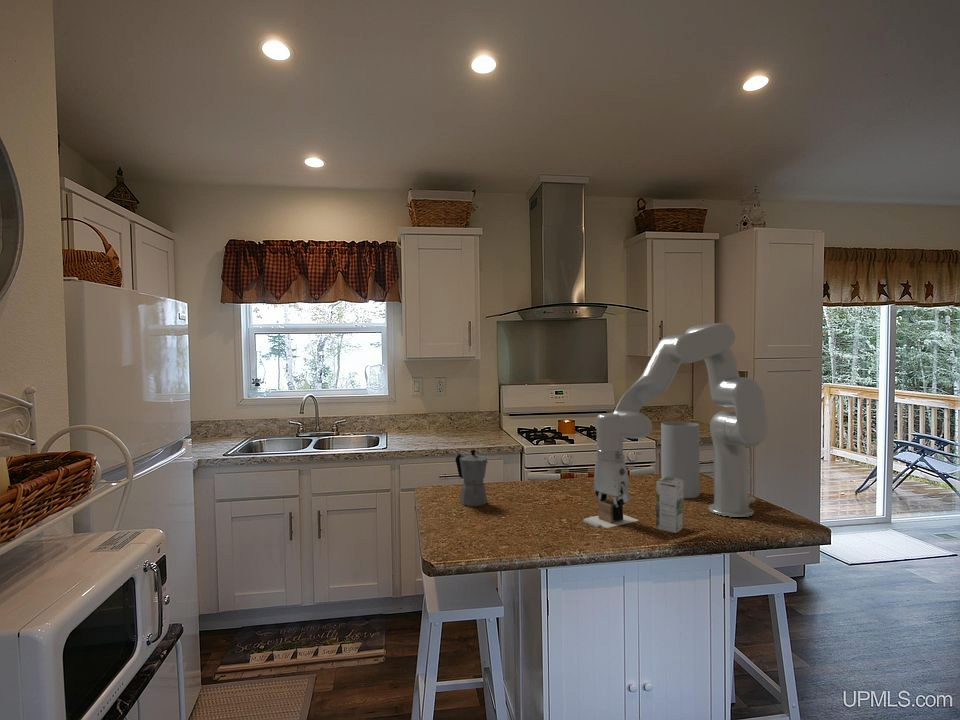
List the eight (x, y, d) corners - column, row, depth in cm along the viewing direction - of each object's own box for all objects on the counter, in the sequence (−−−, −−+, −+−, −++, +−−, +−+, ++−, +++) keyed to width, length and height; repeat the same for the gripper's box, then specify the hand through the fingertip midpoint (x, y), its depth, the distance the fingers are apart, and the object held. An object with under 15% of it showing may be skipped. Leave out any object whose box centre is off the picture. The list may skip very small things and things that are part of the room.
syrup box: (663, 526, 144) (662, 475, 144) (684, 530, 140) (683, 478, 140) (655, 531, 140) (655, 479, 140) (677, 536, 136) (677, 482, 136)
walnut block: (611, 515, 151) (610, 499, 151) (623, 520, 147) (623, 503, 147) (598, 518, 149) (598, 501, 149) (610, 523, 144) (610, 505, 144)
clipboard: (615, 512, 157) (615, 508, 157) (645, 523, 146) (645, 519, 146) (575, 521, 149) (575, 516, 149) (604, 533, 139) (604, 528, 139)
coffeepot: (497, 503, 168) (496, 450, 168) (476, 509, 162) (476, 453, 162) (466, 495, 179) (466, 444, 179) (446, 500, 173) (445, 448, 173)
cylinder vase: (655, 494, 178) (654, 424, 178) (672, 488, 186) (671, 420, 186) (689, 501, 169) (688, 427, 169) (706, 494, 177) (705, 423, 177)
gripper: (641, 459, 142) (642, 523, 142) (599, 449, 157) (600, 507, 157) (621, 462, 139) (622, 527, 139) (580, 452, 153) (581, 511, 153)
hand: (610, 516), depth 148 cm, fingers closed on walnut block, 5 cm apart
